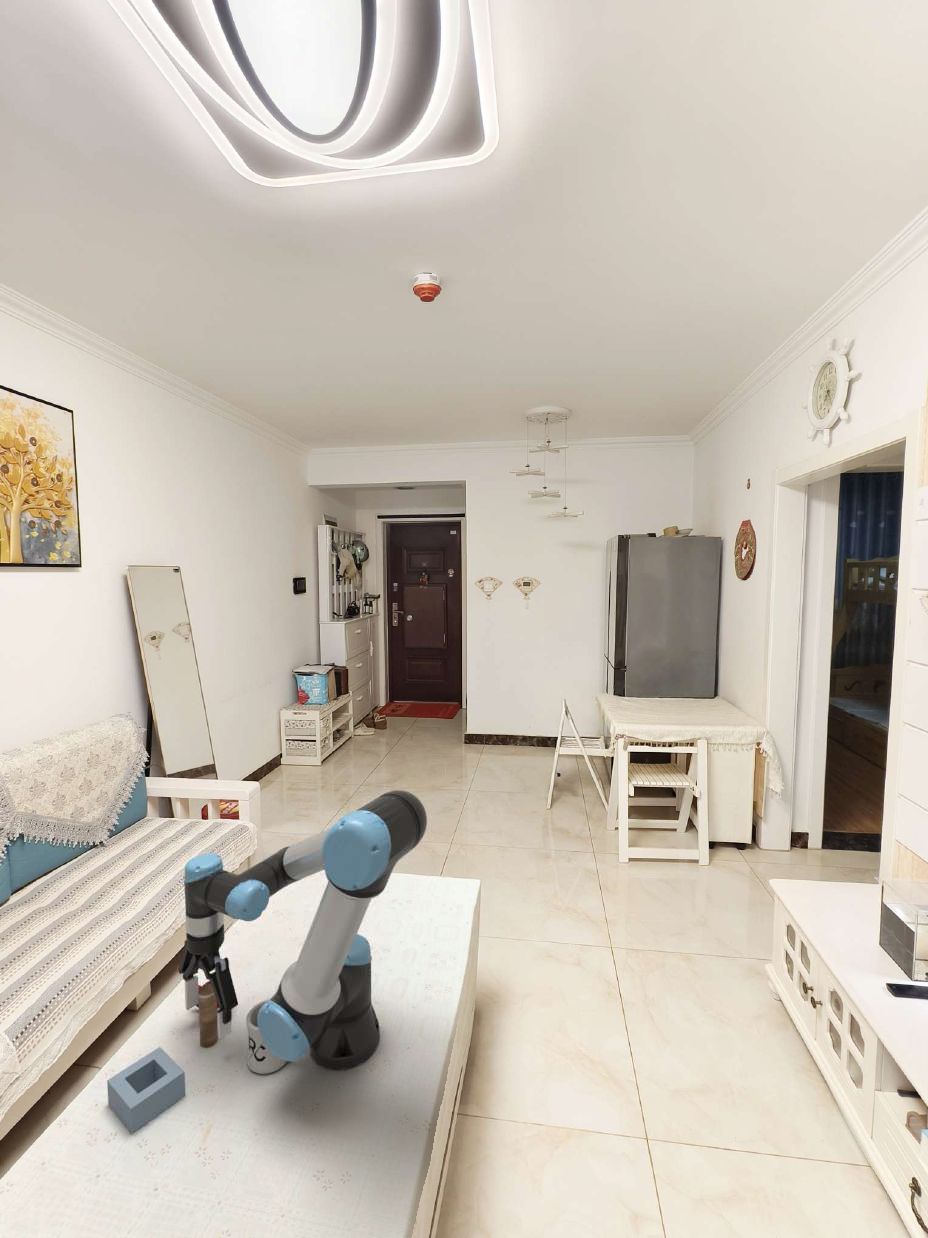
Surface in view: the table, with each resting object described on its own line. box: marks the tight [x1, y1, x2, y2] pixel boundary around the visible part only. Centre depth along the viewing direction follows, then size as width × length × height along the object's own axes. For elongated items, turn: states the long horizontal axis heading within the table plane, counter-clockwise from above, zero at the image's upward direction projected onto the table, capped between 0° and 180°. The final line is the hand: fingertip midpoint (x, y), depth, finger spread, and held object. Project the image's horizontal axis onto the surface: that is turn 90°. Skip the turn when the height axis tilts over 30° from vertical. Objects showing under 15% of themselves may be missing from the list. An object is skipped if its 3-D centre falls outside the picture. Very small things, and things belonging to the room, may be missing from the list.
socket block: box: [106, 1046, 186, 1135], centre depth 113 cm, size 10×10×5 cm
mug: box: [245, 998, 288, 1075], centre depth 123 cm, size 12×9×10 cm
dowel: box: [198, 984, 219, 1049], centre depth 128 cm, size 4×4×12 cm
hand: (208, 1020), depth 128 cm, fingers open, 13 cm apart
